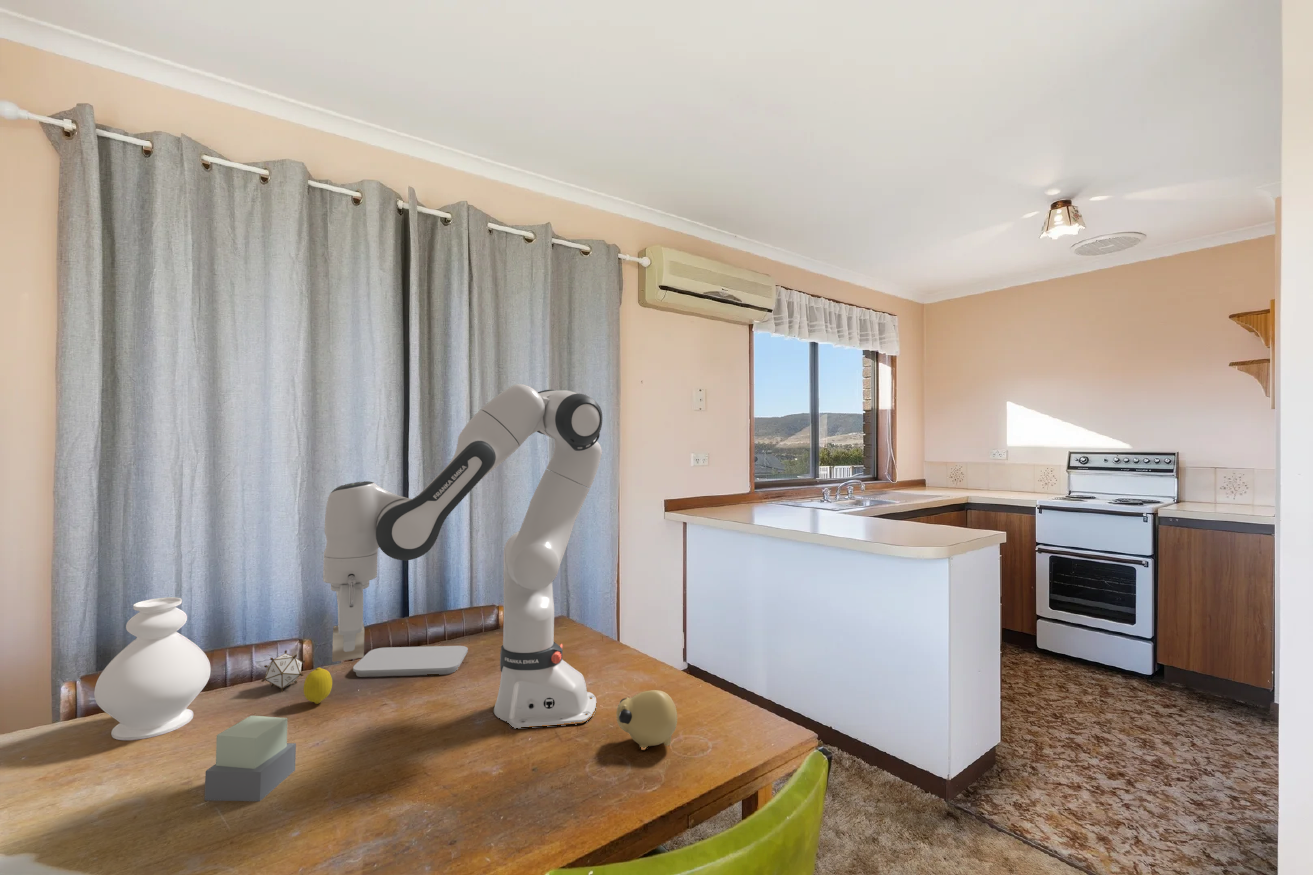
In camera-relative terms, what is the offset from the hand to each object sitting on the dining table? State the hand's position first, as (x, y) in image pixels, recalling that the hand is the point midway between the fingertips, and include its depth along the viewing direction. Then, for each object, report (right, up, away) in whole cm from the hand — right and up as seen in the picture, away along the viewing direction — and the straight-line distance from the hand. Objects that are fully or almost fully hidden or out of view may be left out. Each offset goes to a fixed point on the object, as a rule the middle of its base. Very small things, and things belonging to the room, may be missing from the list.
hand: (348, 644), depth 105 cm
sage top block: (-12, -16, -8) cm, 22 cm away
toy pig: (+55, -23, +7) cm, 60 cm away
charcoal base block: (-12, -21, -8) cm, 26 cm away
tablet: (-8, -23, +46) cm, 52 cm away
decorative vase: (-46, -21, +11) cm, 52 cm away
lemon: (-19, -21, +22) cm, 36 cm away
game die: (-32, -21, +30) cm, 49 cm away
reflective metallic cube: (0, -2, 0) cm, 2 cm away
